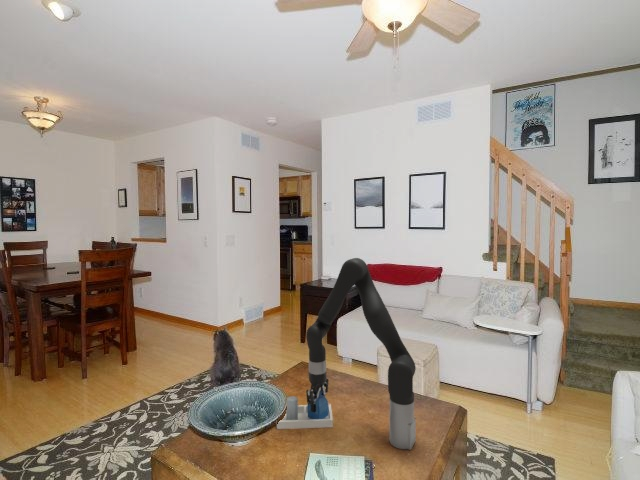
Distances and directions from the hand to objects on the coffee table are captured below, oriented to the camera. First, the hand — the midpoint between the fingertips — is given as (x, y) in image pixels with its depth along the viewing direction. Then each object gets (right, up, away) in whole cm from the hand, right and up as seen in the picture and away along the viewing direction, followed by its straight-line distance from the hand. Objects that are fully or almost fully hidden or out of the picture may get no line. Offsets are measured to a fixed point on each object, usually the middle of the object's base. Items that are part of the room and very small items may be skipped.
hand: (318, 407), depth 146 cm
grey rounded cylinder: (-11, -5, 0) cm, 12 cm away
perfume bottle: (0, -4, 0) cm, 4 cm away
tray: (-6, -6, 0) cm, 8 cm away
